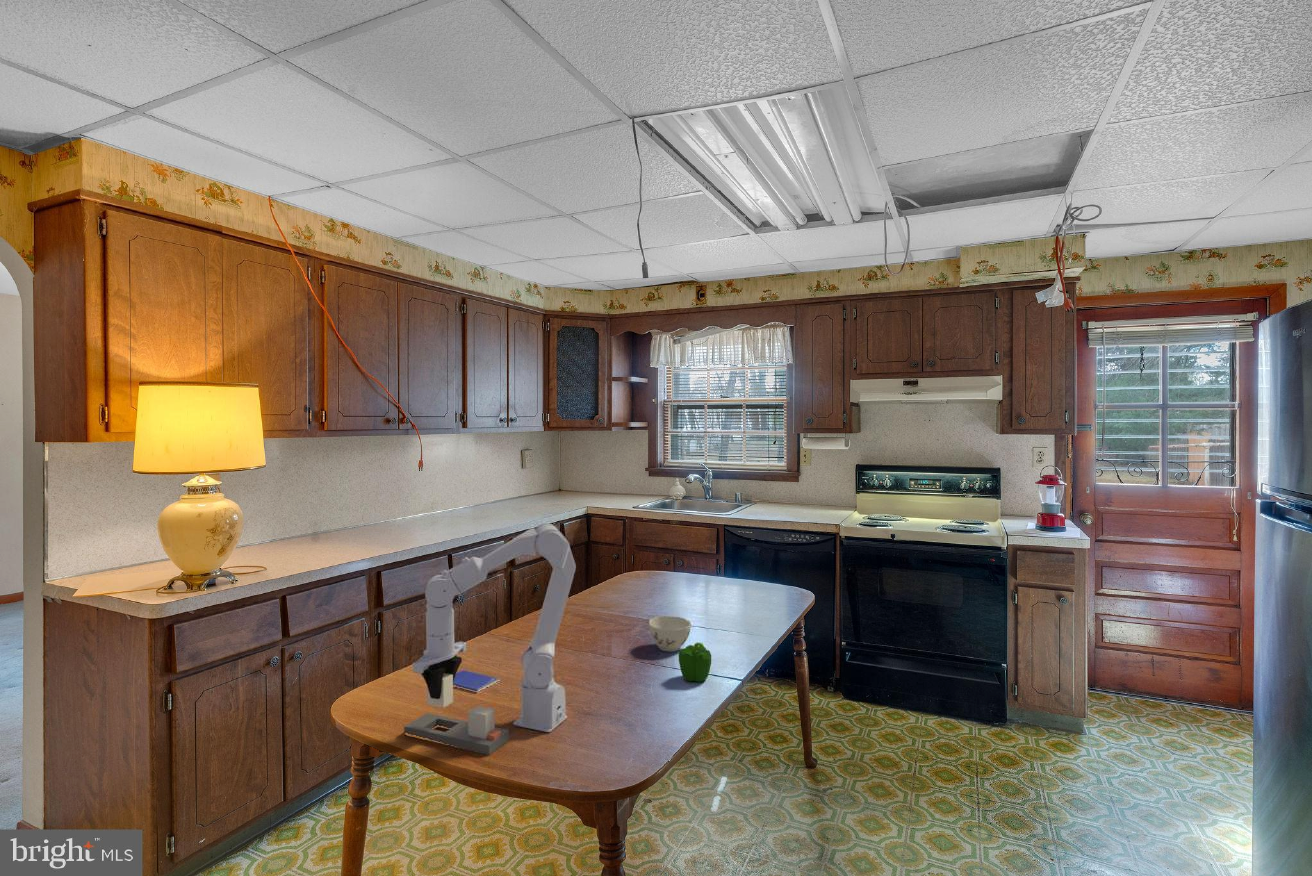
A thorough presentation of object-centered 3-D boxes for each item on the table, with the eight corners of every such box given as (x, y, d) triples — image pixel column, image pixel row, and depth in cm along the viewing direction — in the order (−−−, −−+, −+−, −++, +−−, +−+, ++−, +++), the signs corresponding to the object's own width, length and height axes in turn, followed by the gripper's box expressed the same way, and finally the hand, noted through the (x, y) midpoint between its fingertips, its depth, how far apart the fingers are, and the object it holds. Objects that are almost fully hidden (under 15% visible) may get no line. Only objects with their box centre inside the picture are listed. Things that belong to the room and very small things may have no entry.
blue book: (499, 677, 171) (464, 669, 177) (477, 689, 164) (441, 680, 170) (499, 683, 171) (464, 675, 177) (477, 695, 164) (441, 686, 170)
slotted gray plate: (509, 739, 140) (509, 707, 140) (489, 755, 134) (488, 721, 133) (427, 721, 148) (426, 691, 148) (404, 735, 142) (403, 703, 142)
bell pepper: (674, 675, 175) (674, 638, 174) (702, 671, 178) (702, 634, 177) (686, 687, 167) (686, 648, 167) (716, 682, 170) (716, 644, 170)
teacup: (676, 659, 186) (676, 631, 186) (640, 650, 193) (640, 623, 193) (702, 644, 199) (702, 617, 199) (668, 636, 206) (668, 611, 206)
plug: (453, 702, 143) (452, 674, 143) (443, 707, 140) (443, 679, 140) (436, 698, 145) (436, 671, 145) (427, 704, 142) (426, 676, 142)
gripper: (448, 620, 150) (448, 679, 151) (400, 640, 137) (401, 705, 137) (473, 624, 147) (474, 684, 148) (427, 644, 134) (428, 710, 134)
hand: (441, 694), depth 142 cm, fingers closed on plug, 3 cm apart
